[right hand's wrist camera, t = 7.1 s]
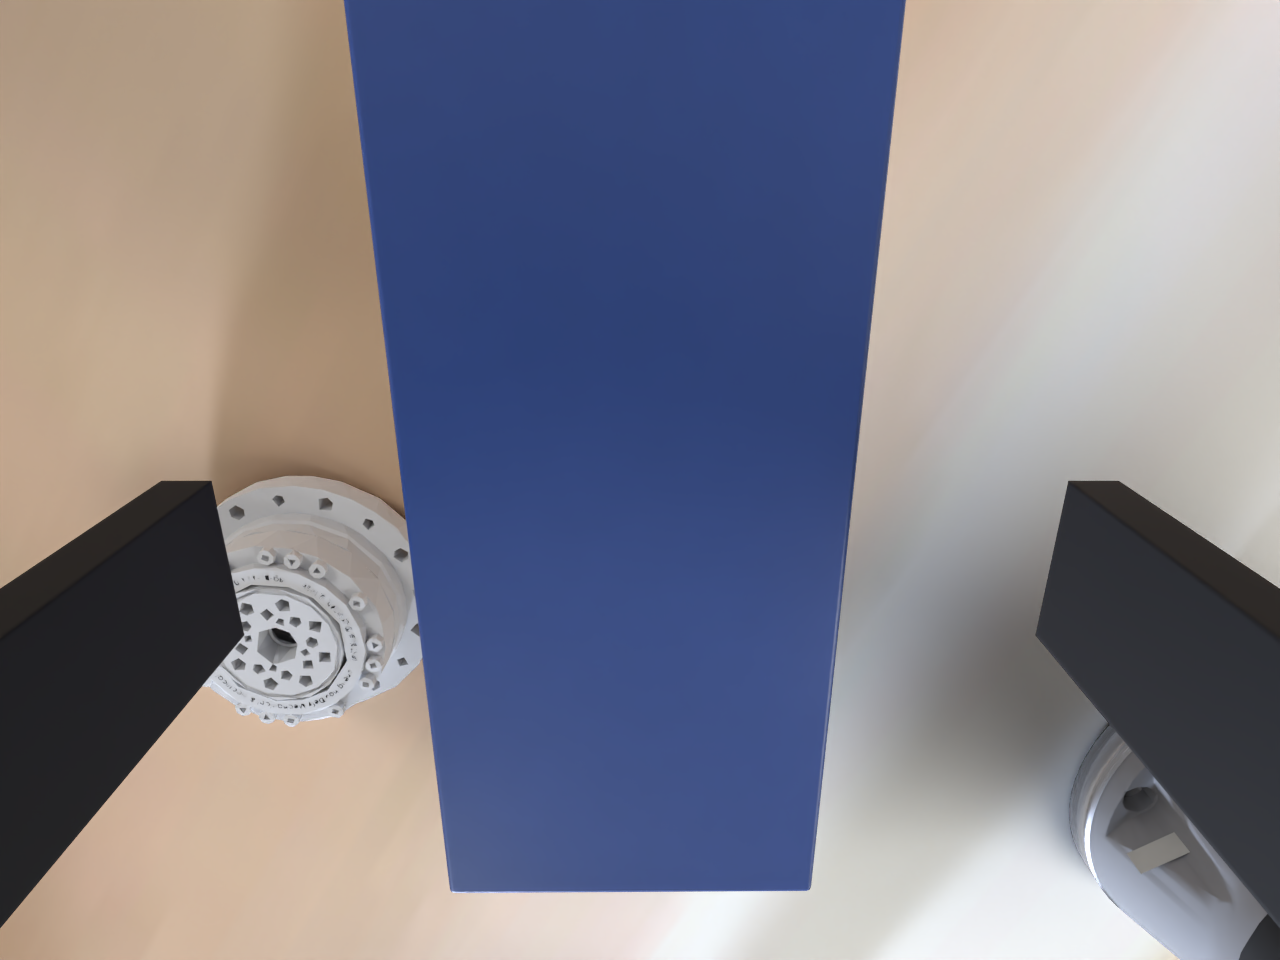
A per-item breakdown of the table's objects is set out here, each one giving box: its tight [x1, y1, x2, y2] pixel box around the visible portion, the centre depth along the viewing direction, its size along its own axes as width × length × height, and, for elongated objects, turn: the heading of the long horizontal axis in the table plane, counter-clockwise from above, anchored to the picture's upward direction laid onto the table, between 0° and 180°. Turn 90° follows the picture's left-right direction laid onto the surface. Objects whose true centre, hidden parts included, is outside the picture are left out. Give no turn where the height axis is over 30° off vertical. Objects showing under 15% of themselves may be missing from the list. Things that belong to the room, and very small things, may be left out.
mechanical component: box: [203, 476, 422, 727], centre depth 31 cm, size 10×4×10 cm
